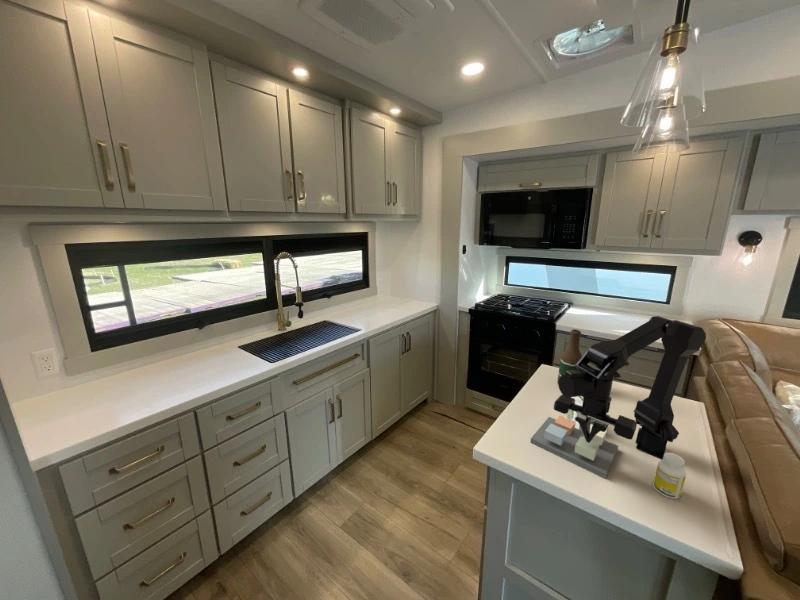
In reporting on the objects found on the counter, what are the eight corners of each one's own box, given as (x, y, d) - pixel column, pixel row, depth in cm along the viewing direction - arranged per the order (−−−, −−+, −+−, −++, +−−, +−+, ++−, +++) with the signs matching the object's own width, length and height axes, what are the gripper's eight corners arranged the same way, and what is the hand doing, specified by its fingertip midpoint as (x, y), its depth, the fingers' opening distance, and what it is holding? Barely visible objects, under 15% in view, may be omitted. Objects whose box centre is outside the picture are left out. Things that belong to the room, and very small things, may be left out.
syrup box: (575, 407, 116) (598, 433, 102) (559, 406, 116) (579, 432, 102) (578, 393, 114) (601, 417, 100) (561, 392, 115) (582, 417, 101)
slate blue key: (566, 437, 95) (567, 430, 95) (560, 445, 92) (562, 438, 91) (549, 430, 99) (550, 423, 98) (543, 437, 95) (544, 430, 95)
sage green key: (598, 451, 90) (599, 444, 89) (593, 460, 86) (595, 453, 86) (579, 443, 93) (580, 436, 92) (574, 451, 90) (575, 444, 89)
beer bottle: (552, 382, 133) (560, 328, 127) (566, 379, 135) (575, 326, 129) (568, 392, 126) (577, 335, 120) (582, 388, 128) (592, 332, 122)
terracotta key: (574, 428, 102) (575, 421, 101) (569, 435, 98) (570, 428, 98) (558, 421, 105) (559, 415, 104) (553, 428, 101) (554, 421, 101)
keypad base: (617, 449, 95) (618, 445, 94) (605, 478, 84) (606, 474, 84) (548, 420, 108) (549, 416, 108) (530, 442, 98) (530, 438, 97)
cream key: (605, 437, 96) (606, 430, 95) (601, 445, 92) (602, 438, 92) (587, 430, 99) (589, 423, 98) (583, 437, 95) (584, 430, 95)
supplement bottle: (667, 481, 83) (675, 450, 81) (686, 499, 78) (695, 466, 76) (647, 482, 83) (655, 450, 81) (664, 500, 78) (673, 466, 75)
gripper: (645, 393, 84) (634, 443, 88) (569, 370, 97) (562, 414, 101) (638, 411, 76) (626, 465, 80) (556, 383, 89) (549, 431, 93)
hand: (588, 441), depth 89 cm, fingers closed
